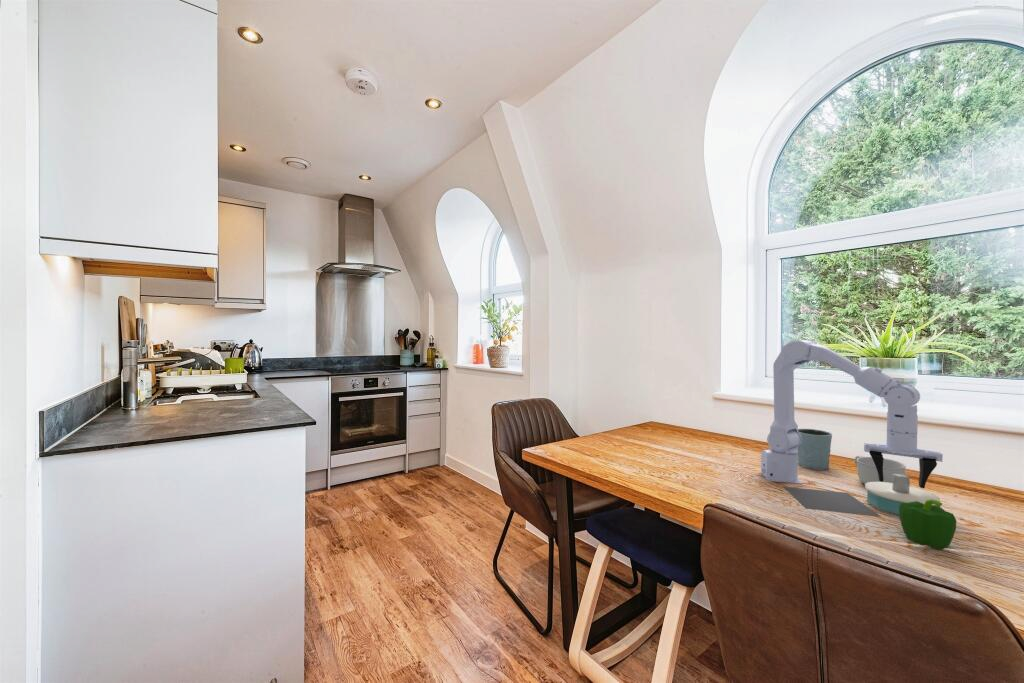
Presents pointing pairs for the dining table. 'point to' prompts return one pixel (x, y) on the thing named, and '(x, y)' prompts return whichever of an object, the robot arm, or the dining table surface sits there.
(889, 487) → the lid
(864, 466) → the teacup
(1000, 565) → the dining table surface
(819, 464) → the teal cup
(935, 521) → the bell pepper
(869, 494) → the bowl
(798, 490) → the mat
